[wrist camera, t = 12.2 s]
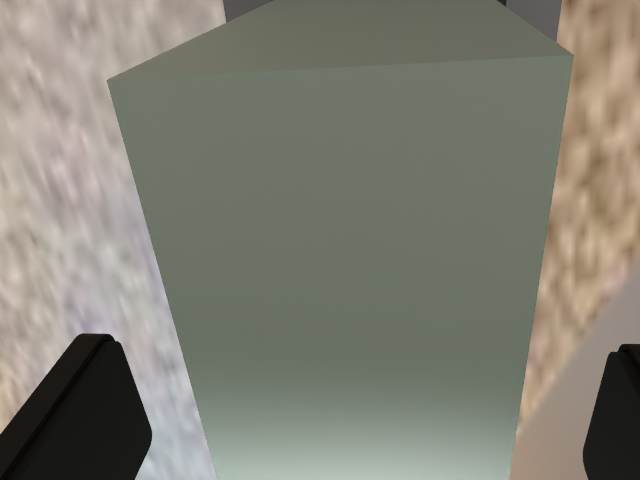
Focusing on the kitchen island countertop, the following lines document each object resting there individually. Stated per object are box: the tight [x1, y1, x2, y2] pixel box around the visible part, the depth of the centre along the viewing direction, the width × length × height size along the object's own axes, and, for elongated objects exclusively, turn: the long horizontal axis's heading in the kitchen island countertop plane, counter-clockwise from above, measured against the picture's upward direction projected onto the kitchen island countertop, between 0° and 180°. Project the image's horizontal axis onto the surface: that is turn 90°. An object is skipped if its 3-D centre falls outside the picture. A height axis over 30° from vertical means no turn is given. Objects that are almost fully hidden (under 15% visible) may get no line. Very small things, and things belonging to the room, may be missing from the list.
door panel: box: [107, 0, 574, 480], centre depth 13 cm, size 14×4×12 cm, turn 5°
